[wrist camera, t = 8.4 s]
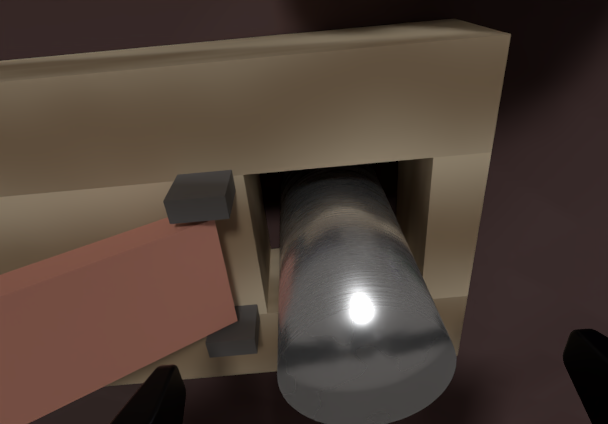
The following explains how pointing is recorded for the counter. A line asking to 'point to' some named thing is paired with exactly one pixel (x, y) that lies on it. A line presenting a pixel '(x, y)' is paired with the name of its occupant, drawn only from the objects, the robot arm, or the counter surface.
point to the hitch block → (251, 153)
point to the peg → (353, 304)
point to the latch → (107, 313)
